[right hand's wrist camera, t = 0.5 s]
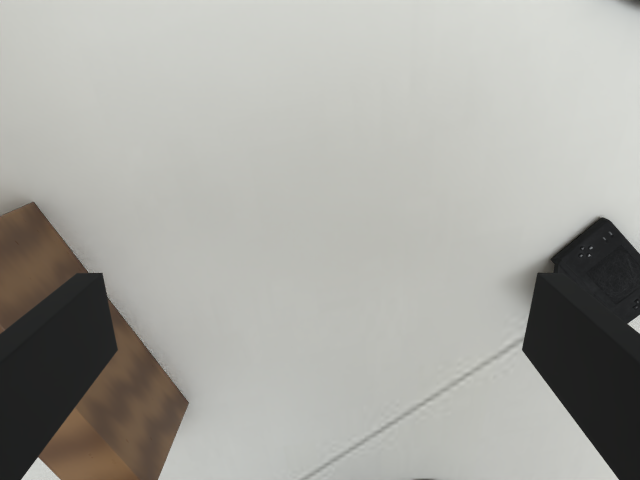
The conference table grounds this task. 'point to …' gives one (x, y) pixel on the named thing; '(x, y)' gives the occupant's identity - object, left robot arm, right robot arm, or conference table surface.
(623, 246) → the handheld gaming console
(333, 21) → the conference table surface
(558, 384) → the right robot arm
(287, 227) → the conference table surface
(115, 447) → the box
